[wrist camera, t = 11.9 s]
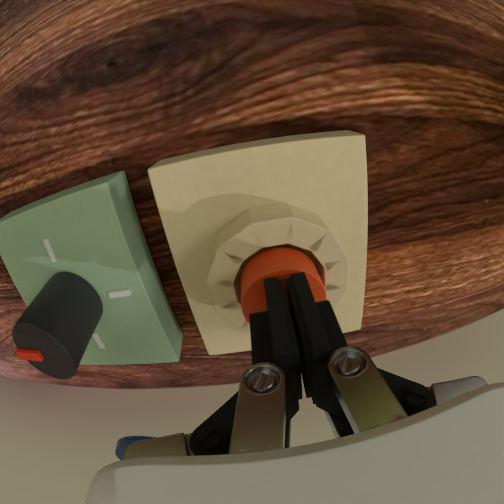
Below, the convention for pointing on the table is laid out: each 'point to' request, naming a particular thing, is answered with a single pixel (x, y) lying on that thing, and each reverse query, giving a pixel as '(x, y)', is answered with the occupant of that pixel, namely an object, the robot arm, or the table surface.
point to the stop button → (279, 266)
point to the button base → (265, 222)
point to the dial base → (96, 267)
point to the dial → (58, 325)
